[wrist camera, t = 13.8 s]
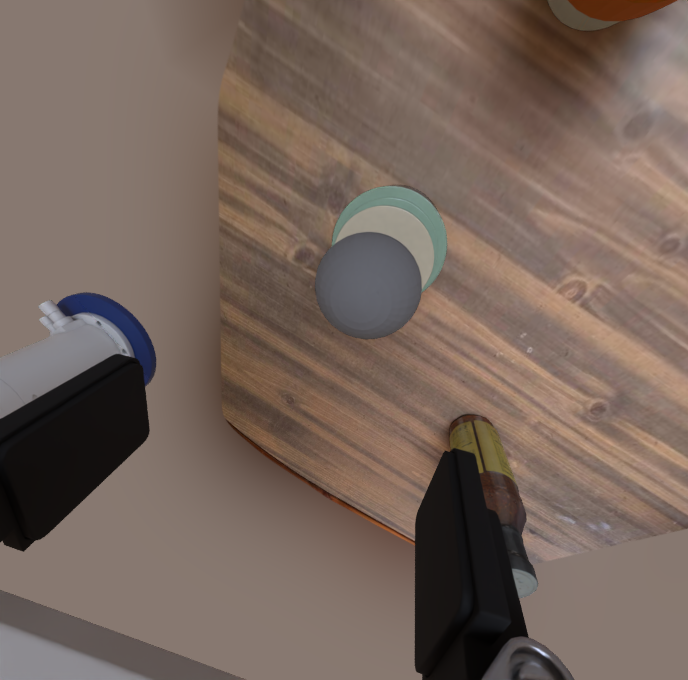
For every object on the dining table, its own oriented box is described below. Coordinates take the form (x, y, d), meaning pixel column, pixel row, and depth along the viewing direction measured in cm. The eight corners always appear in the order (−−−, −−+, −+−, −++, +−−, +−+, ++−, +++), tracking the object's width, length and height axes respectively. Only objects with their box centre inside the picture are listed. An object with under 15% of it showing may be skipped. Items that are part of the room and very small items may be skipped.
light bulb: (369, 201, 24) (339, 214, 15) (438, 249, 24) (449, 289, 15) (328, 270, 26) (281, 316, 18) (390, 313, 27) (375, 378, 18)
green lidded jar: (333, 220, 38) (293, 238, 26) (412, 163, 34) (407, 154, 22) (379, 293, 40) (362, 341, 28) (458, 249, 36) (476, 282, 25)
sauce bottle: (449, 448, 48) (466, 603, 30) (446, 412, 46) (462, 558, 28) (499, 447, 46) (547, 612, 29) (498, 410, 44) (551, 565, 26)
